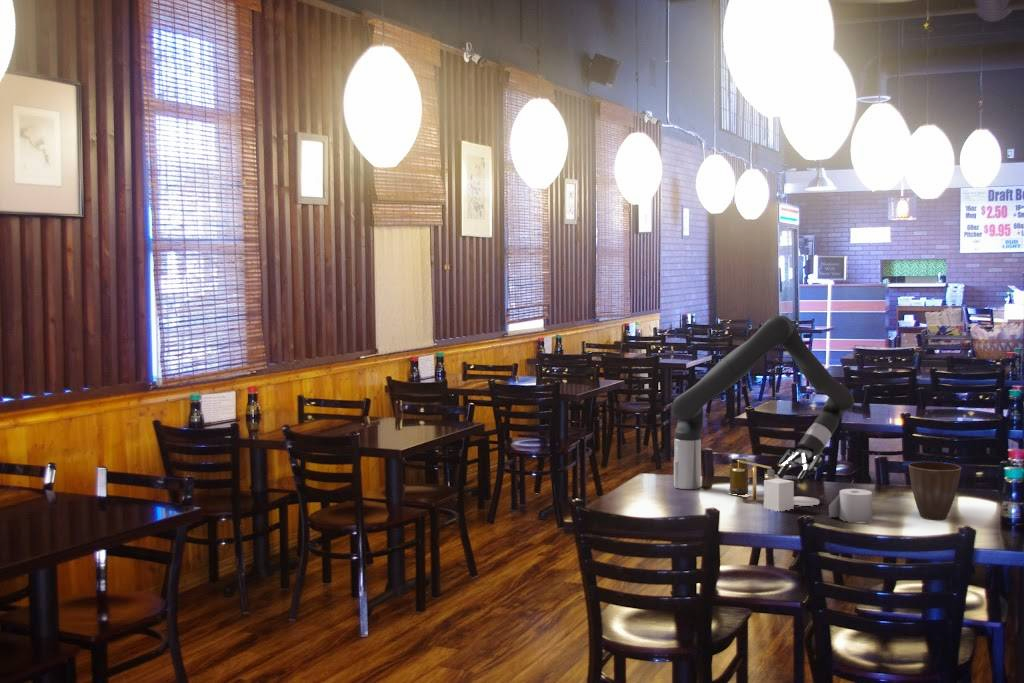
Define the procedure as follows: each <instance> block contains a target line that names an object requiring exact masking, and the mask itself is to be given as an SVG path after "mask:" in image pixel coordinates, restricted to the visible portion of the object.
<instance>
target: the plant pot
mask: <svg viewBox="0 0 1024 683" xmlns="http://www.w3.org/2000/svg"><path fill="white" fill-rule="evenodd" d="M908 471H909V479H910V485H911V489H912V493H913V498H914V502H915V505H916V508H917V510H918V513H919V516H920V517H921V518H923V519H926V520H933V521H944V520H947V517H948V515H949V513H950V511H951V508H952V505H953V504H954V500H955V497H956V494H957V491H958V490H957V489H958V487H959V482H960V477H961V471H962V466H960V465H957V464H954V463H949V462H941V461H940V462H939V461H914V462H910V463H908Z"/></svg>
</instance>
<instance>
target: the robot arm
mask: <svg viewBox="0 0 1024 683" xmlns="http://www.w3.org/2000/svg"><path fill="white" fill-rule="evenodd" d="M779 345H780V346H781V347H782V348H784V350H785V351H787V353H788V354H789V355H790V357H791V358H792V359H793V361H794V363H796V365H797V367H798V369H799V371H800V372H801V374H802V375H803V377H804V378H805V379H806V381H808V383H809V384H810V385H811V386H812V388H813V389H814V390H815V392H817V393H818V394H824V395H825V396H826V397H828V399H827V400H826V401H825V403H824V404H823V407H822V408H821V411H820V412H819V414H818V416H817V417H816V418H815V420H814V421H813V423H812V425H811V426H809V428H808V429H807V430H806V432H805V433H804V435H803V436H802V438H801V439H800V441H799V442H798V444H797V448H796V450H795V451H792V450H791V449H790V448H789V449H787V450H786V452H785V453H784V455H782V457H781V458H780V460H779V461H778V463H779V465H780V466H781V467H780V469H779V470H778V472H777V475H776V476H777V478H780V479H784V477H785V475H786V473H788V470H790V469H792V468H796V467H802V468H803V469H802V470H800V473H798V476H797V477H796V480H797V482H798V483H800V484H801V483H803V482H805V480H806V478H807V477H808V475H811V474H813V475H815V474H816V473H817V471H818V470H819V468H820V467H821V464H823V461H824V459H823V458H822V457H821V454H822V452H823V451H824V449H825V448H826V447H827V444H829V441H830V439H831V437H832V436H833V434H834V433H835V431H836V429H837V428H838V426H839V421H840V419H841V418H842V417H843V416H844V414H846V413H847V412H848V411H850V410H851V409H852V408H853V407H854V406H855V398H854V396H853V394H852V392H851V391H850V390H849V389H848V388H847V387H845V386H844V385H843V384H842V383H840V381H838V380H837V379H835V378H834V377H833V376H832V375H831V373H830V372H829V371H828V369H826V367H825V366H824V365H823V364H822V363H821V361H820V360H819V359H818V358H817V357H816V356H815V354H814V353H813V352H812V351H811V350H810V349H809V347H808V346H807V344H806V343H805V341H804V340H803V339H802V337H801V335H800V333H799V332H798V330H797V329H796V327H795V326H794V324H793V322H792V321H791V319H790V318H789V317H787V316H786V315H775V316H771V317H770V318H768V319H767V320H766V321H765V322H764V323H763V324H762V326H760V327H759V329H758V330H757V331H756V332H755V333H754V334H753V335H751V337H749V339H747V340H746V341H745V342H743V343H741V344H740V345H739V346H737V347H735V348H734V349H733V350H732V351H730V352H729V353H728V354H727V355H725V356H724V357H723V358H722V359H720V361H718V362H717V363H716V364H715V365H714V366H713V367H712V368H711V369H710V370H709V371H708V372H706V374H705V375H704V376H703V377H702V378H701V379H700V380H699V381H698V382H696V383H695V384H694V385H693V386H692V387H690V388H689V389H687V390H685V391H684V392H683V393H681V394H680V395H677V396H676V397H675V398H674V400H673V401H672V405H671V413H672V415H673V416H674V417H675V418H676V419H677V420H676V422H677V423H676V426H675V430H674V433H673V434H674V435H673V436H674V437H673V438H674V441H673V442H674V443H673V444H674V448H673V449H674V451H673V452H674V454H673V455H674V457H673V486H674V488H675V489H682V490H696V489H700V488H701V483H702V482H701V478H702V476H701V475H702V472H701V470H702V469H701V468H702V464H701V463H702V461H701V460H702V456H701V455H702V449H701V448H702V443H701V441H702V438H701V437H702V431H703V426H704V425H703V424H704V423H703V422H704V421H703V420H704V406H705V405H706V404H707V403H708V402H710V400H711V399H714V398H715V397H716V396H718V395H720V394H722V393H723V392H725V391H727V390H728V389H729V388H731V387H732V386H734V385H735V384H736V383H737V382H739V381H740V380H741V379H742V378H744V377H745V376H746V375H747V374H748V373H749V372H750V371H751V370H752V369H753V368H754V366H755V365H756V364H757V363H758V361H760V359H761V358H763V357H764V356H765V355H766V354H767V353H769V352H770V351H772V350H773V349H775V348H776V347H778V346H779Z"/></svg>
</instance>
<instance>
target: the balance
mask: <svg viewBox="0 0 1024 683" xmlns="http://www.w3.org/2000/svg"><path fill="white" fill-rule="evenodd" d="M739 462H741V463H745V464H747V465H750V466H751V465H752V494H753V496H750V497H740V500H741V499H742V500H741V501H743V502H759V503H758V504H764V496H757V495H756V494H757V469H758V468H757V467H760V468H764V469H767V471H766V472H767V473H766V474H765V475H764V478H765V479H767V480H770V479H777V478H778V475H776V474H775V470H774V469H772V466H768V465H764V464H759V463H755V462H749V461H747V462H746V461H742V460H738V468H733V469H732V471H735V472H744V471H745V469H742V468H739ZM743 502H742V503H743ZM760 502H761V503H760Z"/></svg>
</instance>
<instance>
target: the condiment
mask: <svg viewBox="0 0 1024 683" xmlns="http://www.w3.org/2000/svg"><path fill="white" fill-rule="evenodd" d="M738 460H742V461H746V462H748V460H747V459H746V458H731V461H730V462H731V464H730V465H731V466H730V468H729V493H731V494H737V495H745V494H748V493H749V468H748V464H745V463H741V462H739V468H742V469H745V471H744V472H735V471H732V469H733V468H738Z"/></svg>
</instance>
